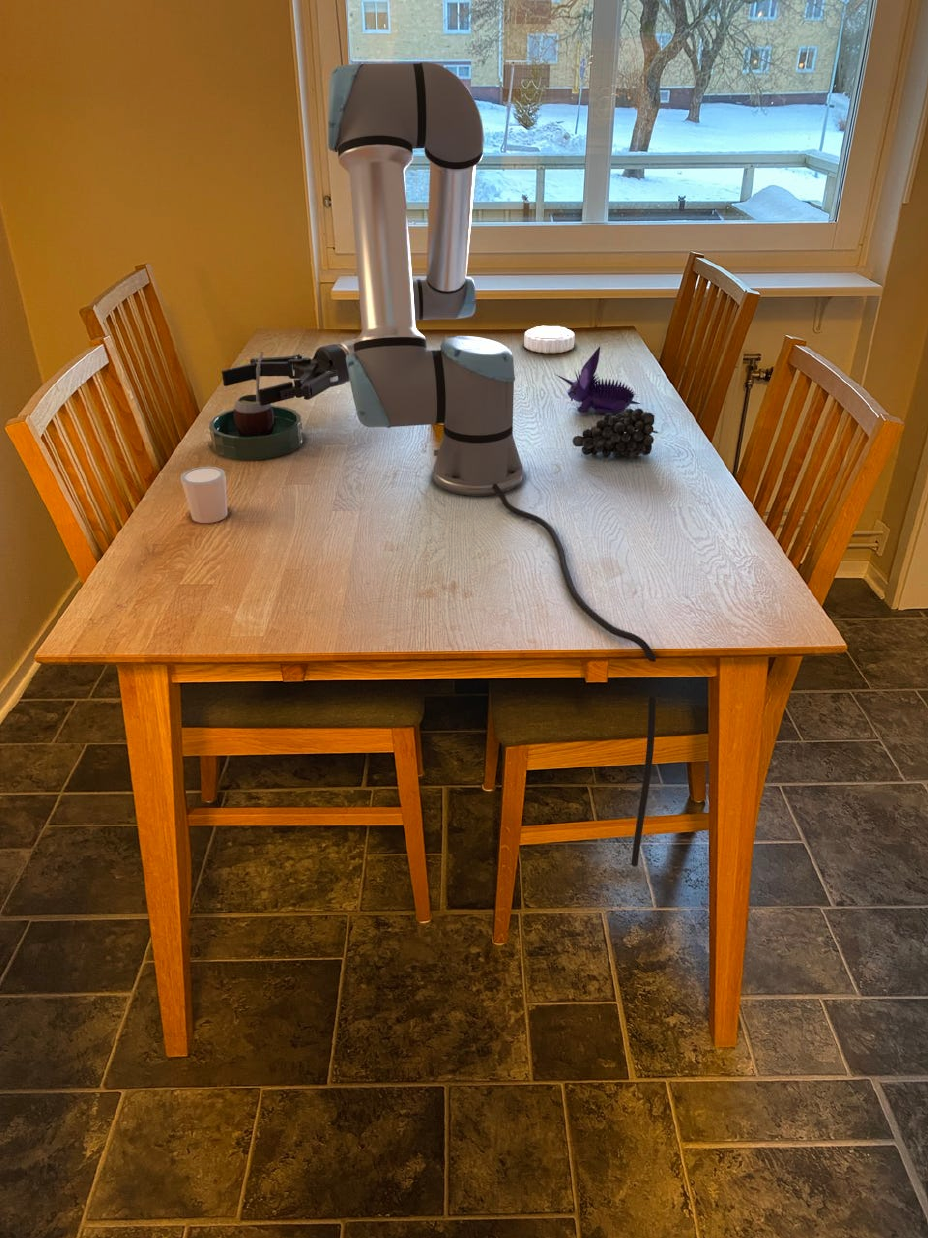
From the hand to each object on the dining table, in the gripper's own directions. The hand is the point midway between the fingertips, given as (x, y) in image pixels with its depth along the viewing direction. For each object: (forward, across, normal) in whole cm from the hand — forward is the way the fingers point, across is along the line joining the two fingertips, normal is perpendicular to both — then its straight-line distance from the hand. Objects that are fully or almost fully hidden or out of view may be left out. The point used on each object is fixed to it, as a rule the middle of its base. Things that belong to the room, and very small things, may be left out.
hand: (241, 387), depth 167 cm
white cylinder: (+19, -22, -11) cm, 31 cm away
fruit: (-48, -46, -11) cm, 68 cm away
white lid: (-85, +8, -11) cm, 86 cm away
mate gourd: (-2, 0, -11) cm, 11 cm away
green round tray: (-2, 0, -11) cm, 11 cm away
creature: (-62, -29, -11) cm, 70 cm away
